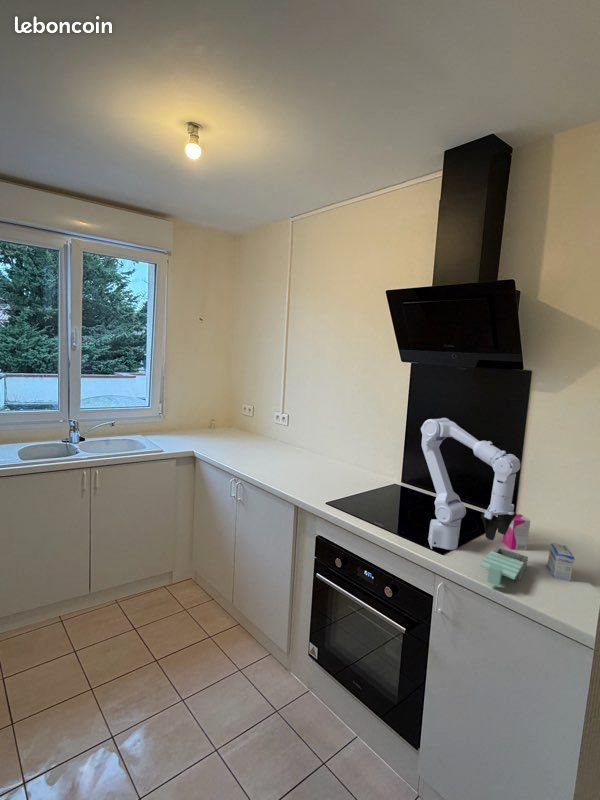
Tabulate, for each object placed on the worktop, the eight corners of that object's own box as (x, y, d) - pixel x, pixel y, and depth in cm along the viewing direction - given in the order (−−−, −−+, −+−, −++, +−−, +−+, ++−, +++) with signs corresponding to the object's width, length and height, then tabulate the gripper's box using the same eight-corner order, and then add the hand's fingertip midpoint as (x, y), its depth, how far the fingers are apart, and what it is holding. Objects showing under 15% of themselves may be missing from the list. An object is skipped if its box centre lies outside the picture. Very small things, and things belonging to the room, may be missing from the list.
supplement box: (516, 544, 147) (521, 513, 146) (526, 552, 141) (531, 520, 140) (501, 543, 147) (505, 512, 146) (510, 551, 141) (514, 519, 140)
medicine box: (546, 567, 132) (550, 542, 131) (562, 571, 131) (566, 545, 130) (553, 580, 125) (558, 553, 123) (570, 584, 123) (575, 556, 122)
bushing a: (511, 569, 127) (513, 561, 127) (508, 564, 130) (510, 556, 130) (522, 571, 127) (523, 562, 126) (518, 566, 130) (520, 558, 129)
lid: (475, 577, 118) (477, 562, 117) (489, 559, 129) (491, 546, 128) (510, 591, 112) (513, 575, 111) (522, 571, 123) (524, 557, 123)
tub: (485, 571, 126) (487, 558, 126) (495, 559, 135) (497, 546, 134) (518, 584, 121) (520, 569, 120) (525, 570, 129) (528, 557, 129)
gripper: (503, 502, 119) (496, 547, 120) (526, 494, 128) (519, 536, 129) (480, 494, 124) (474, 537, 126) (503, 487, 133) (497, 527, 135)
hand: (495, 536), depth 128 cm, fingers open, 7 cm apart
